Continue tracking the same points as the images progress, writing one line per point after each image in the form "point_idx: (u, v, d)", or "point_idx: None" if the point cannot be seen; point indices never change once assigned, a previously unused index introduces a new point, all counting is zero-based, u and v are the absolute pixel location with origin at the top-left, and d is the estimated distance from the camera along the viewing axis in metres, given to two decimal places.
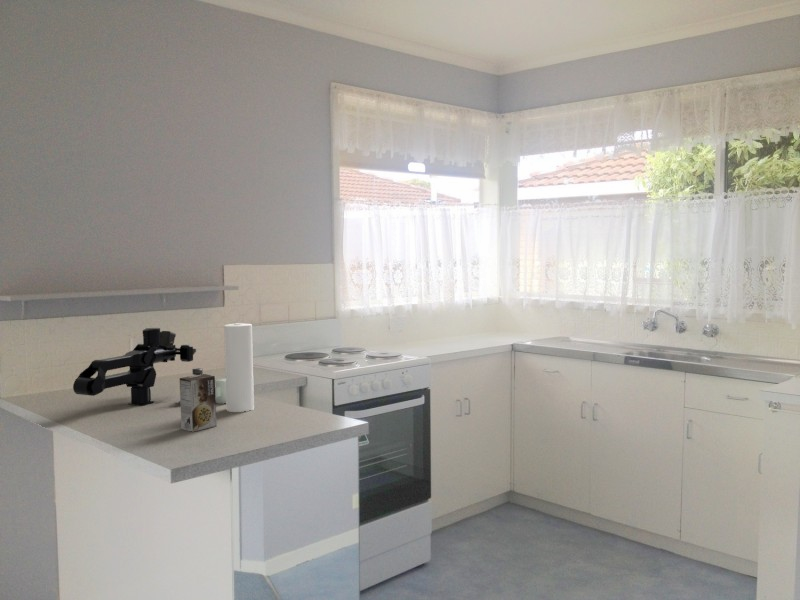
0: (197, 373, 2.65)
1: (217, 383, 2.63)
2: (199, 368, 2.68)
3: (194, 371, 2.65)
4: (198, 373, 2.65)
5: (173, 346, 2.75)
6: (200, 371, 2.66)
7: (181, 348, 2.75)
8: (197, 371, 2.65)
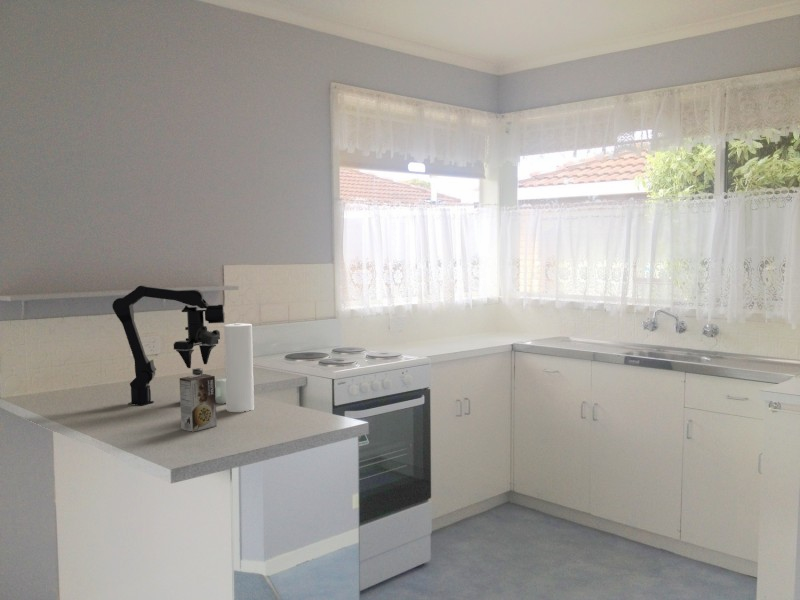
0: (197, 373, 2.65)
1: (217, 383, 2.63)
2: (199, 368, 2.68)
3: (194, 371, 2.65)
4: (198, 373, 2.65)
5: (197, 338, 2.62)
6: (200, 371, 2.66)
7: (189, 341, 2.60)
8: (197, 371, 2.65)
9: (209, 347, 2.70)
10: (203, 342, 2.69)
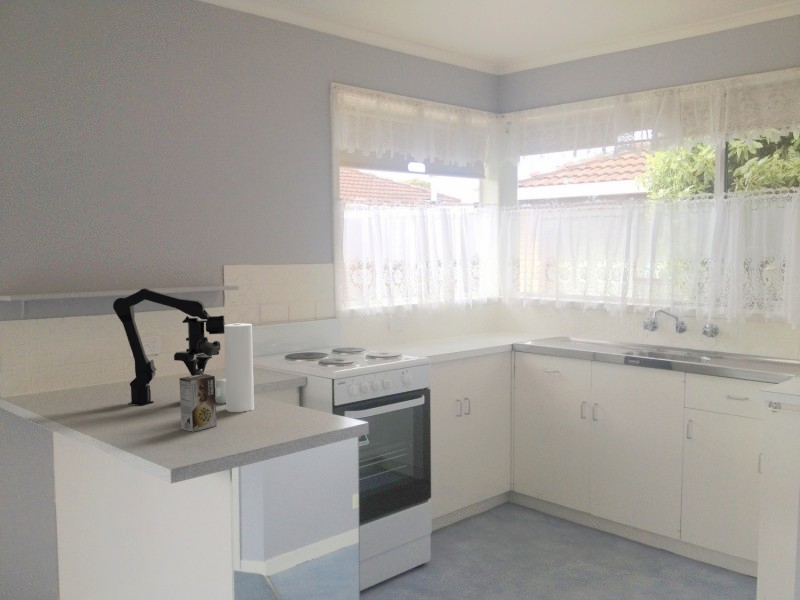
0: (197, 373, 2.65)
1: (217, 383, 2.63)
2: (199, 368, 2.68)
3: None
4: (198, 373, 2.65)
5: (197, 349, 2.63)
6: (200, 371, 2.66)
7: (189, 352, 2.60)
8: (197, 371, 2.65)
9: (205, 359, 2.68)
10: (204, 353, 2.69)
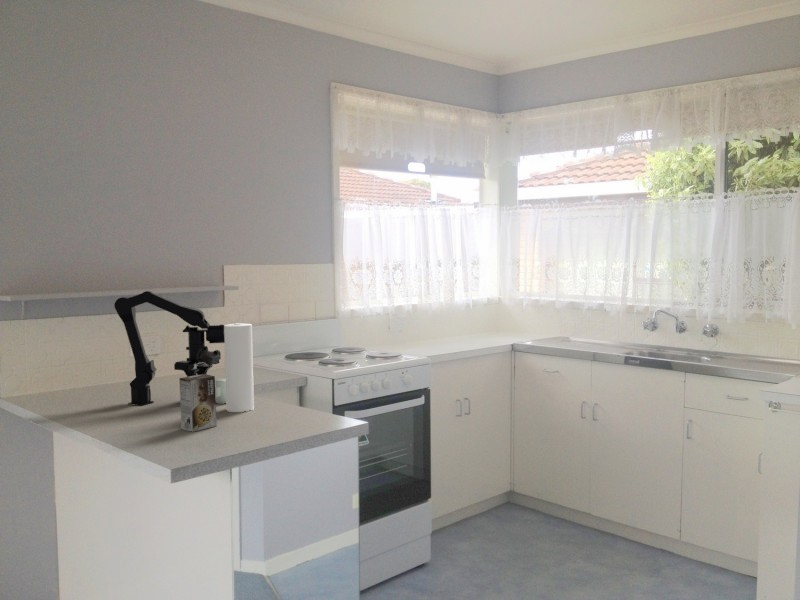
0: None
1: (217, 383, 2.63)
2: None
3: None
4: None
5: (197, 358, 2.63)
6: None
7: (190, 361, 2.60)
8: None
9: (205, 368, 2.68)
10: (204, 362, 2.70)
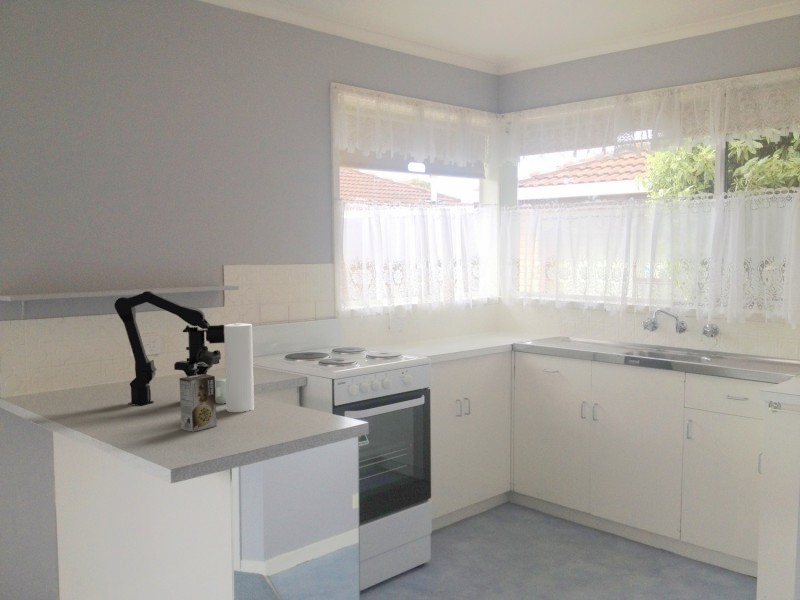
0: None
1: (217, 383, 2.63)
2: None
3: None
4: None
5: (197, 358, 2.63)
6: None
7: (190, 361, 2.60)
8: None
9: (205, 368, 2.68)
10: (204, 362, 2.70)
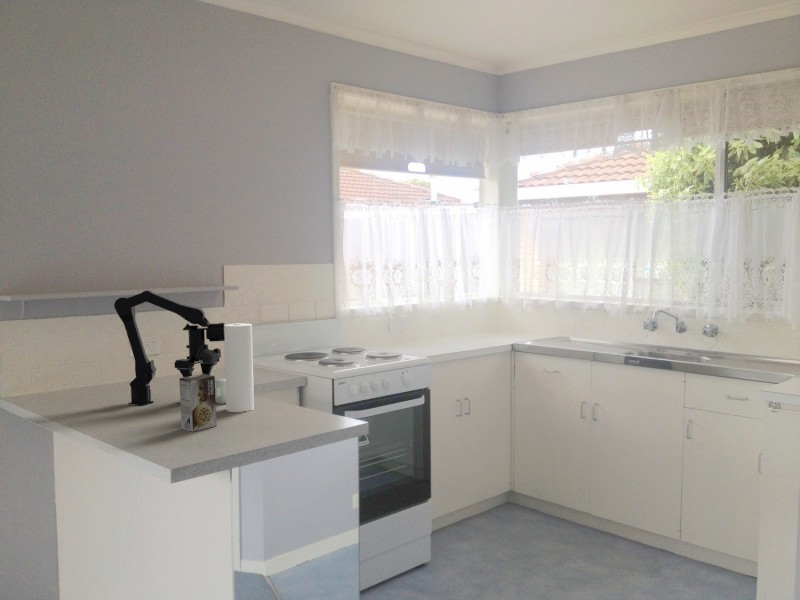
0: None
1: (217, 383, 2.63)
2: None
3: None
4: None
5: (197, 357, 2.63)
6: None
7: (190, 359, 2.60)
8: None
9: (210, 365, 2.71)
10: (204, 360, 2.70)
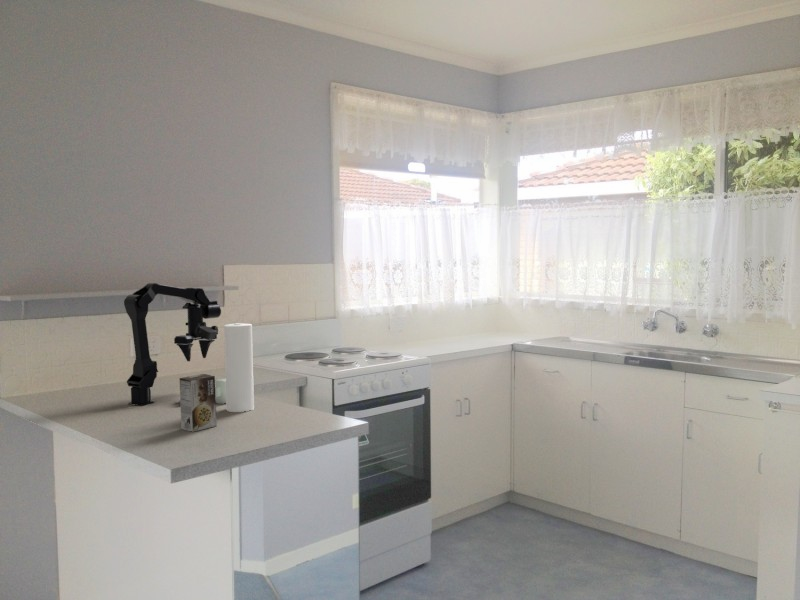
0: None
1: (217, 383, 2.63)
2: None
3: None
4: None
5: (196, 333, 2.78)
6: None
7: (189, 336, 2.76)
8: None
9: (208, 342, 2.86)
10: (202, 337, 2.85)
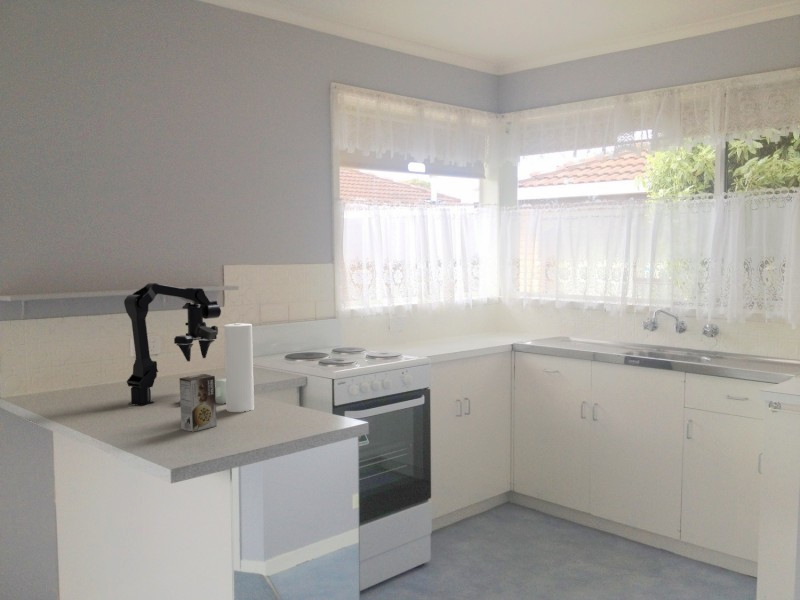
0: None
1: (217, 383, 2.63)
2: None
3: None
4: None
5: (196, 333, 2.79)
6: None
7: (189, 336, 2.76)
8: None
9: (208, 342, 2.87)
10: (202, 337, 2.85)
